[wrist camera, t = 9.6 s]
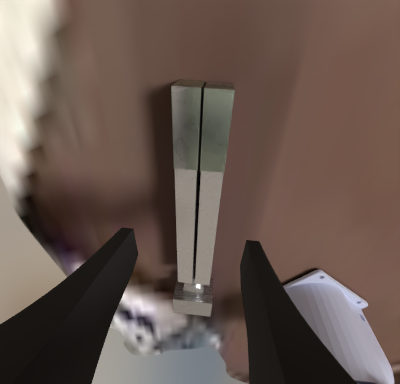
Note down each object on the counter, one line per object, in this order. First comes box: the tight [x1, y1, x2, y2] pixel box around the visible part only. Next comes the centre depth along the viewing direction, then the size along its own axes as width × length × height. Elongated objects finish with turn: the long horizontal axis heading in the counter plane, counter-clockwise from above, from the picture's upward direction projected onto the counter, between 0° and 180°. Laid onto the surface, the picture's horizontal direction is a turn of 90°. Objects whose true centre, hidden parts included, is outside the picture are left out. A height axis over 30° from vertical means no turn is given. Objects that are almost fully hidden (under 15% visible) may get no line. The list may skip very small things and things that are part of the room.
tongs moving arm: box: [183, 82, 235, 297], centre depth 18 cm, size 21×3×2 cm, turn 178°
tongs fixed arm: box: [171, 80, 213, 317], centre depth 19 cm, size 24×4×3 cm, turn 178°
